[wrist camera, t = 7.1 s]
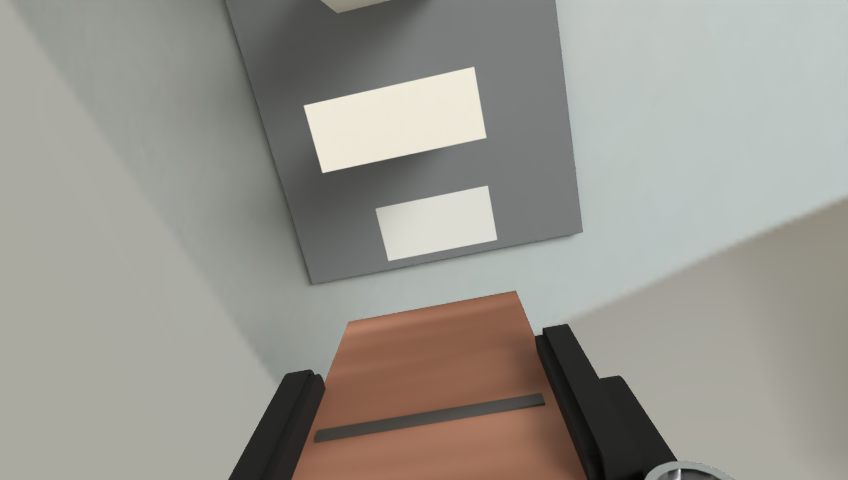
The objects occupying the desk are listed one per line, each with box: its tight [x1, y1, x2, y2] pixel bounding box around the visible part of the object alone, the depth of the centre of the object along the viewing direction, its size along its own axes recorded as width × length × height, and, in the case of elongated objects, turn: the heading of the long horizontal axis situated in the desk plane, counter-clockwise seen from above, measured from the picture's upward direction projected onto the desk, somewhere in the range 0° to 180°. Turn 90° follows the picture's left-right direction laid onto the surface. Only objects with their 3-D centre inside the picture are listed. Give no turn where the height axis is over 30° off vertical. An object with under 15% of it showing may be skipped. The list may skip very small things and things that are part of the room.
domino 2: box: [291, 291, 587, 480], centre depth 9 cm, size 2×5×10 cm, turn 102°
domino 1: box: [304, 67, 486, 173], centre depth 18 cm, size 2×5×10 cm, turn 102°
